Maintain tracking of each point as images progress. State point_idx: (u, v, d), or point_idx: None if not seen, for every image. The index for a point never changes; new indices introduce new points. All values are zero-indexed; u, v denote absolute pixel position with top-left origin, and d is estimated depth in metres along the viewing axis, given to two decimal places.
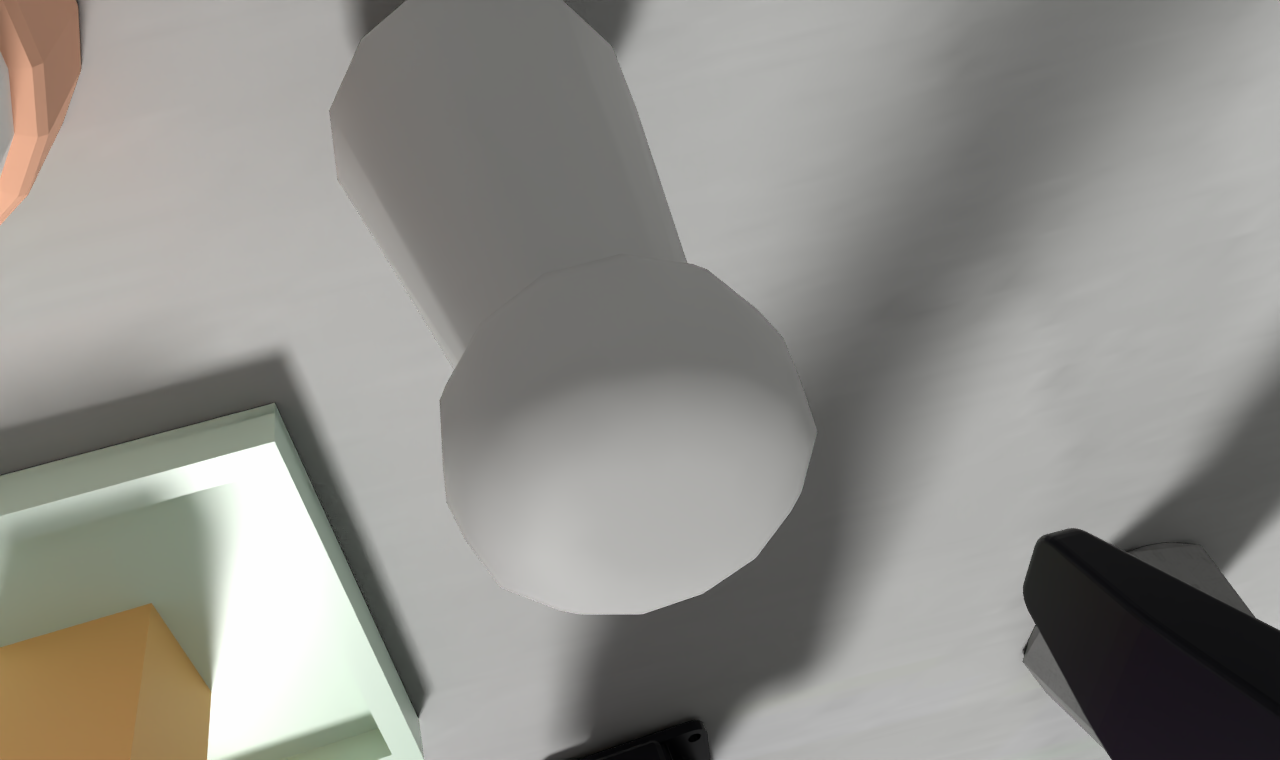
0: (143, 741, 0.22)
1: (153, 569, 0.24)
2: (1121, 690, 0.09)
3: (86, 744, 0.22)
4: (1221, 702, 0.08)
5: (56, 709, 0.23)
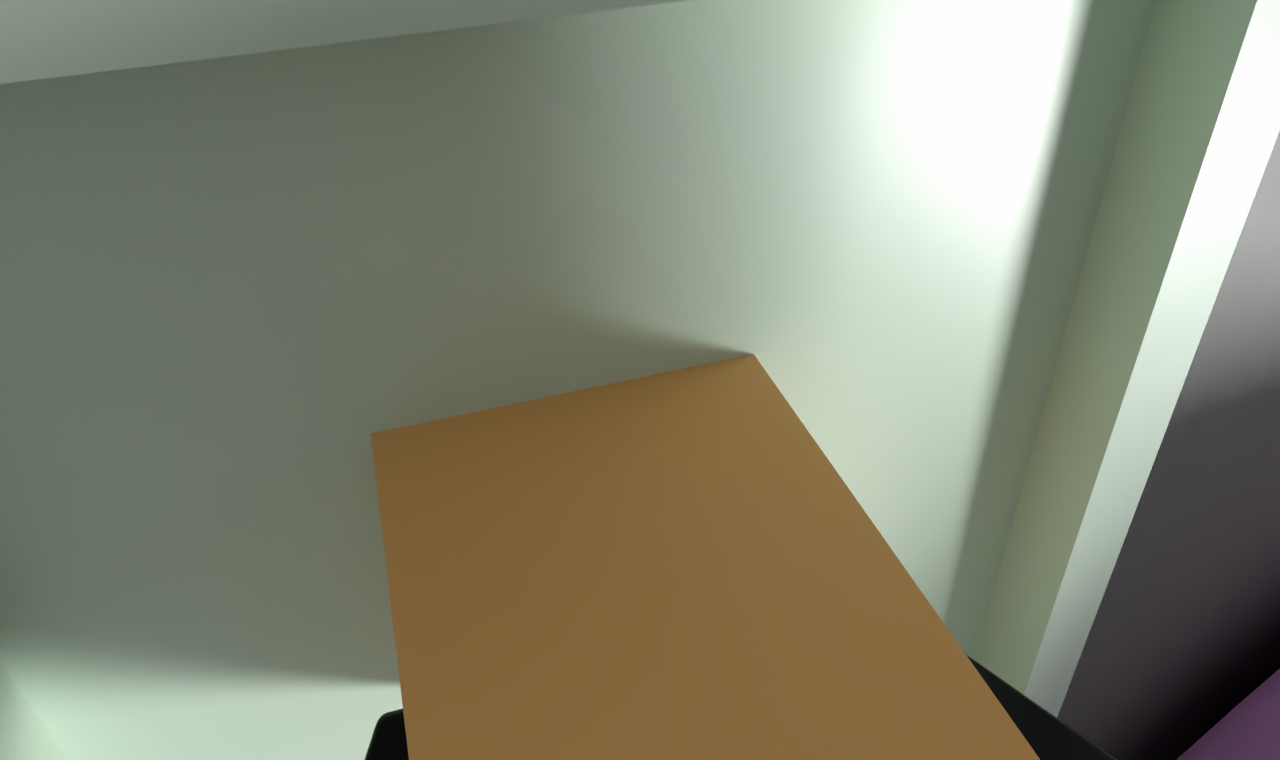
0: None
1: (237, 417, 0.09)
2: None
3: None
4: None
5: None
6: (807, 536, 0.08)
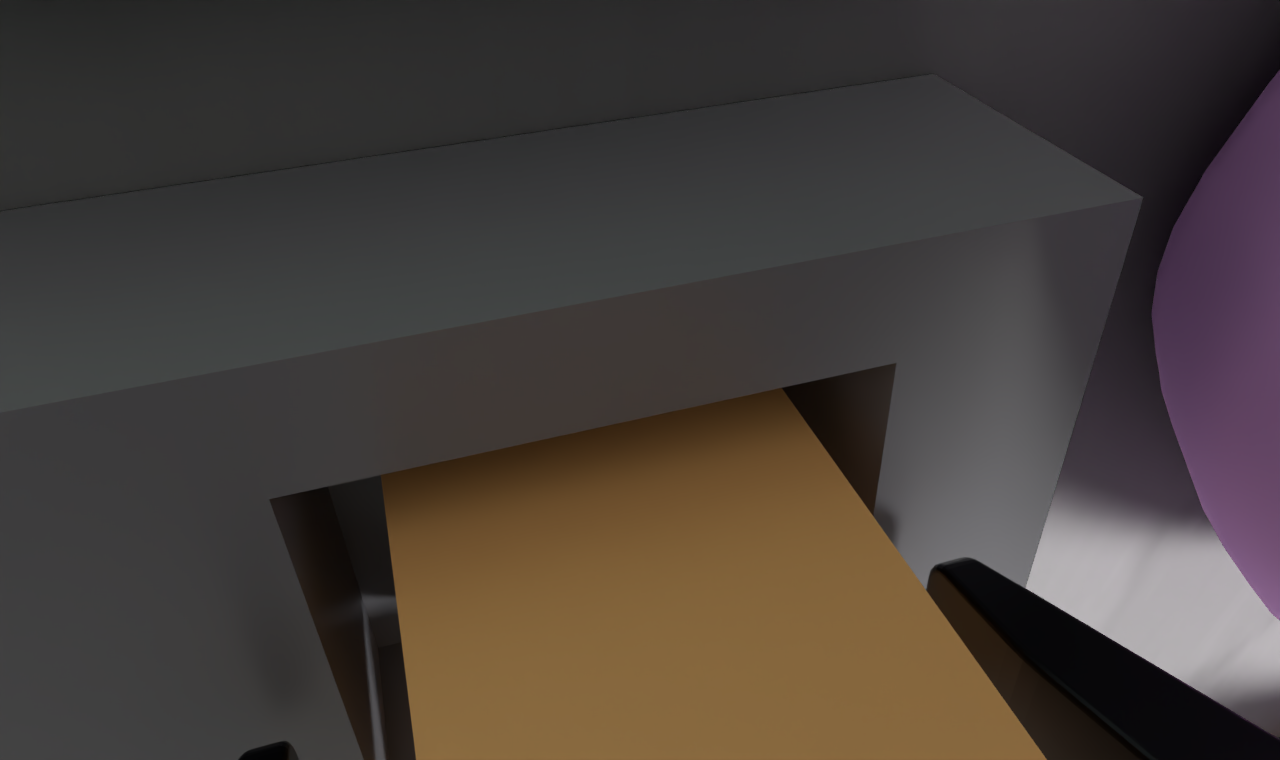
0: (460, 602, 0.08)
1: None
2: None
3: None
4: (1095, 743, 0.08)
5: None
6: (745, 429, 0.09)
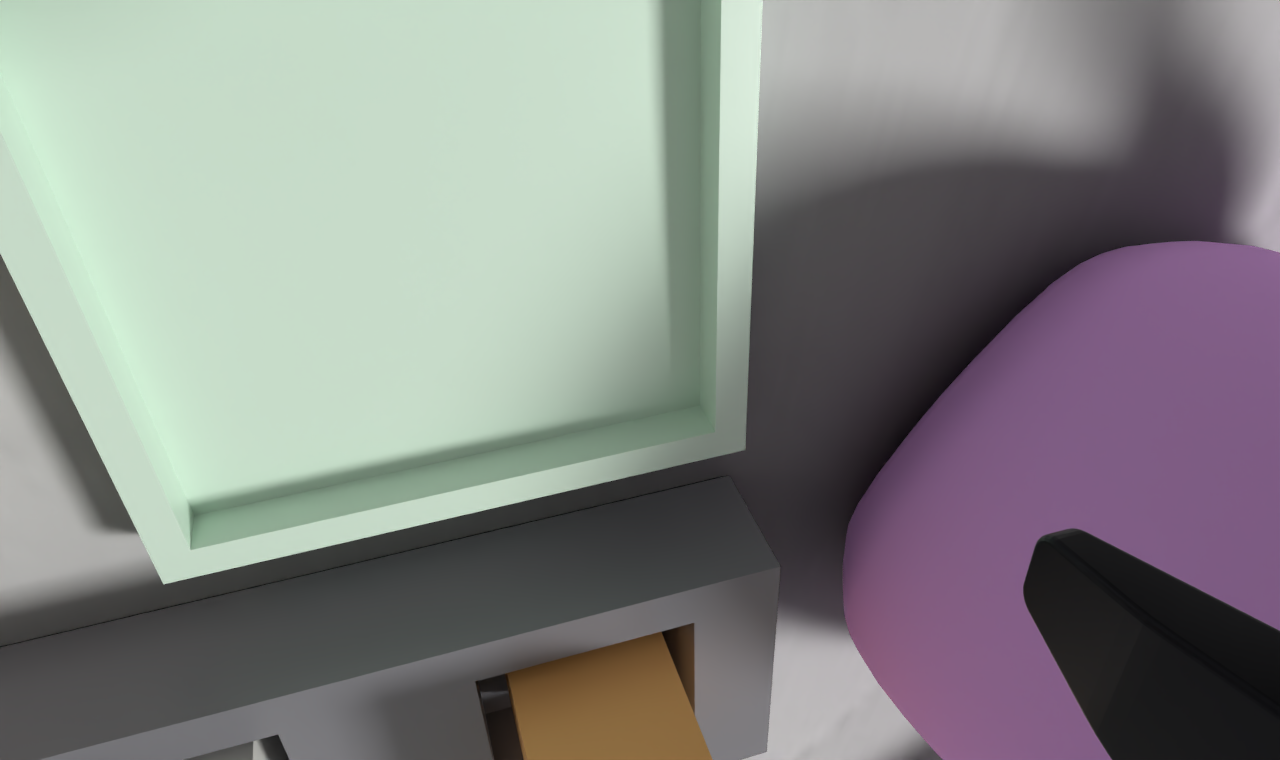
0: (538, 715, 0.23)
1: (216, 134, 0.17)
2: (1121, 689, 0.09)
3: (523, 746, 0.23)
4: (1221, 702, 0.08)
5: None
6: (641, 642, 0.24)
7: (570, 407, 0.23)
